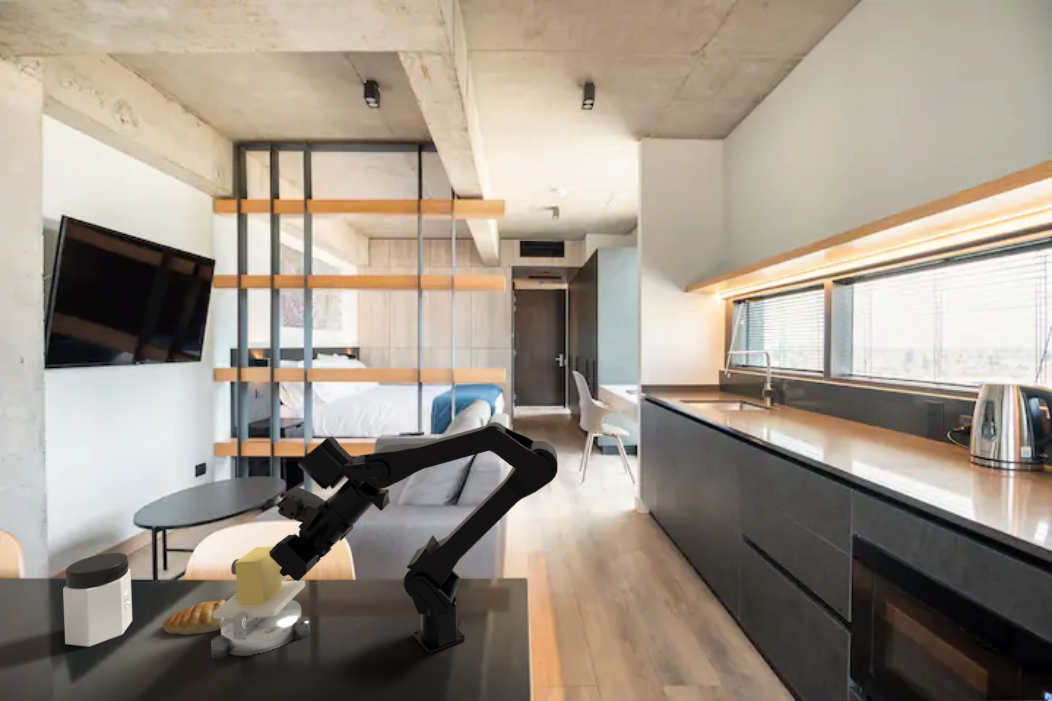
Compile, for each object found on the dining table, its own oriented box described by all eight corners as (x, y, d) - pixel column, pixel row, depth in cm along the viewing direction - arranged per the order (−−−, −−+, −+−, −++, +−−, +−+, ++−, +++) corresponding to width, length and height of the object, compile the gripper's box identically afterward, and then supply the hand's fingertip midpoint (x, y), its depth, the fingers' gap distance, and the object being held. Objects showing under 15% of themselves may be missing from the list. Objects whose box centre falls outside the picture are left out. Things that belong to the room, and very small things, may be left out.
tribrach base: (327, 612, 95) (327, 576, 95) (286, 661, 81) (285, 619, 81) (252, 610, 96) (251, 575, 96) (199, 658, 82) (198, 617, 82)
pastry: (157, 642, 87) (156, 619, 87) (170, 621, 93) (170, 600, 93) (221, 632, 90) (221, 610, 90) (230, 612, 96) (230, 591, 96)
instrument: (306, 587, 93) (302, 540, 93) (273, 620, 83) (269, 566, 83) (251, 589, 94) (247, 542, 94) (212, 622, 84) (207, 569, 83)
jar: (119, 642, 87) (116, 569, 86) (57, 652, 84) (54, 578, 83) (138, 614, 95) (135, 548, 95) (82, 623, 92) (79, 555, 92)
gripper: (334, 459, 96) (277, 519, 97) (280, 490, 78) (211, 564, 79) (378, 502, 96) (321, 562, 97) (334, 543, 77) (264, 616, 79)
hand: (282, 573), depth 88 cm, fingers closed
